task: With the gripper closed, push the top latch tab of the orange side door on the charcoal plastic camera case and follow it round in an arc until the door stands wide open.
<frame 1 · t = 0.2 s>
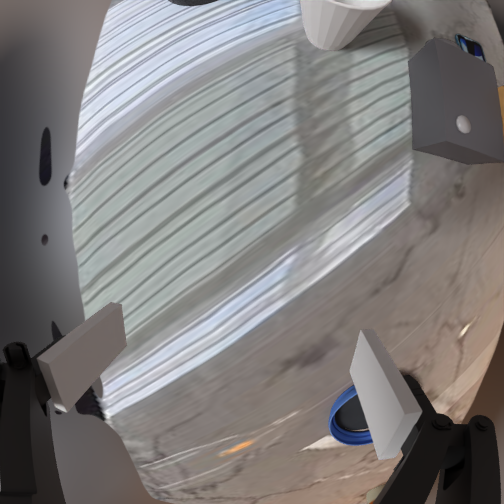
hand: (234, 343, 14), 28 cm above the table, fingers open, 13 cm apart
cup: (327, 35, 34), on the table
reusable coffee cup: (380, 490, 54), on the table
bowl: (369, 406, 47), on the table
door: (494, 123, 27), point 7 cm above the table, hinge at 0.0°
smartphone: (474, 70, 31), on the table
case: (441, 111, 34), on the table
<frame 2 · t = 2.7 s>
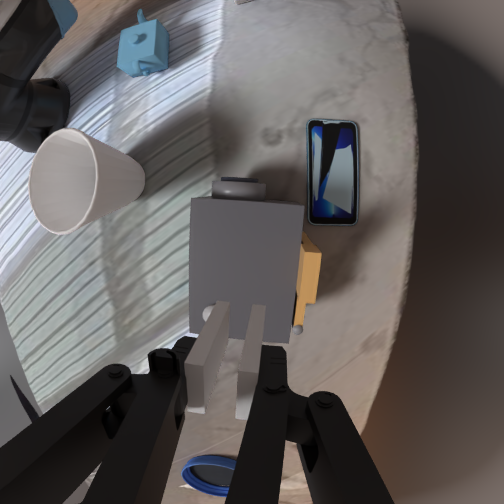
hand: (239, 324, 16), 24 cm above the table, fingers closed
teapot: (153, 53, 35), on the table
cup: (126, 181, 40), on the table
bowl: (219, 471, 54), on the table
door: (300, 283, 34), point 7 cm above the table, hinge at 0.0°
smartphone: (332, 172, 38), on the table
case: (250, 254, 41), on the table
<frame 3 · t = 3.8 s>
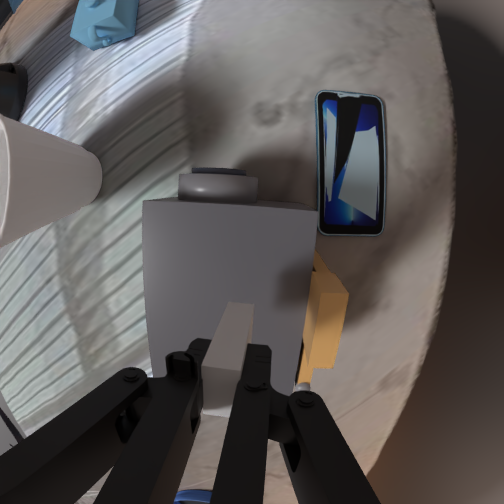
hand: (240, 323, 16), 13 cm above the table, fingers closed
teapot: (120, 21, 24), on the table
cup: (82, 178, 29), on the table
bowl: (211, 503, 43), on the table
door: (308, 323, 23), point 7 cm above the table, hinge at 0.0°
smartphone: (350, 162, 27), on the table
case: (238, 275, 30), on the table
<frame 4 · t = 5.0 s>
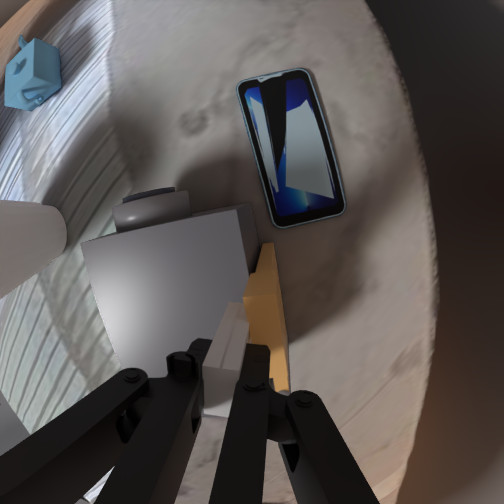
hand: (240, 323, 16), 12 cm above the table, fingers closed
teapot: (49, 76, 25), on the table
cup: (50, 231, 29), on the table
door: (275, 326, 21), point 7 cm above the table, hinge at 0.7°, touching gripper
smartphone: (291, 145, 25), on the table
case: (207, 291, 29), on the table
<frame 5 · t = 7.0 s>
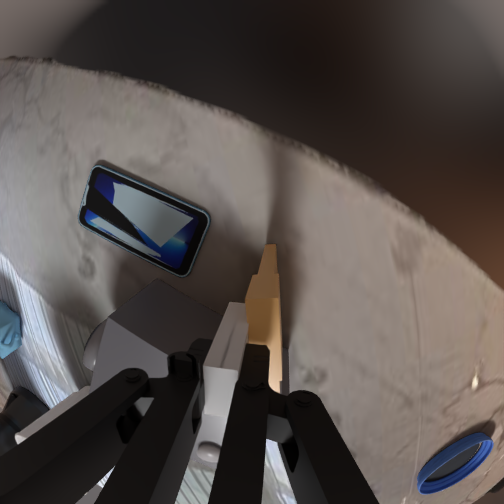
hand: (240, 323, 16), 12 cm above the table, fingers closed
teapot: (9, 316, 34), on the table
cup: (99, 401, 35), on the table
bowl: (452, 458, 33), on the table
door: (271, 329, 21), point 7 cm above the table, hinge at 56.7°, touching gripper
smartphone: (139, 217, 28), on the table
case: (199, 355, 30), on the table
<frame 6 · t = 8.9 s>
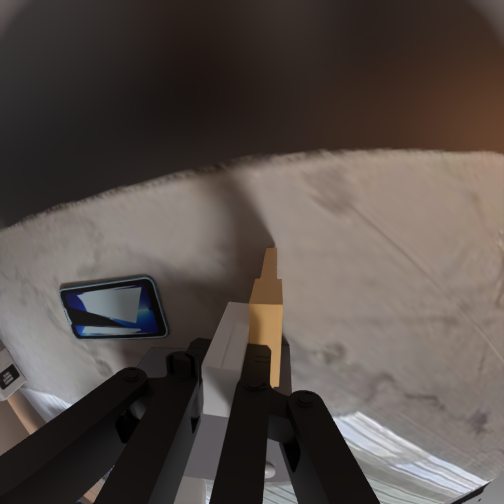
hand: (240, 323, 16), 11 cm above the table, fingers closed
cup: (186, 468, 36), on the table
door: (268, 333, 21), point 7 cm above the table, hinge at 95.9°, touching gripper
container: (11, 367, 37), on the table
smartphone: (111, 309, 31), on the table
case: (224, 389, 31), on the table
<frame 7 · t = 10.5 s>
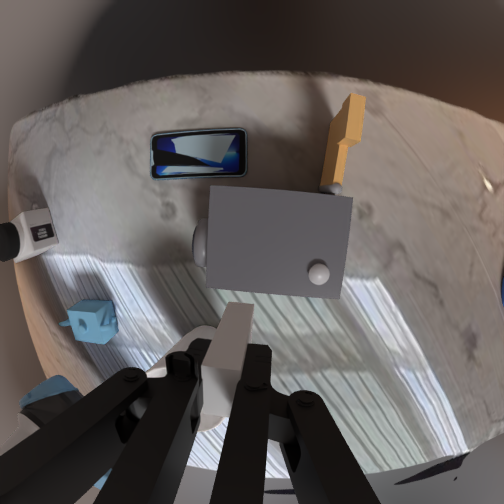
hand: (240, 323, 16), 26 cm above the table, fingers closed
teapot: (99, 312, 48), on the table
cup: (207, 342, 47), on the table
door: (338, 151, 32), point 7 cm above the table, hinge at 95.9°
container: (44, 231, 46), on the table
smartphone: (198, 154, 41), on the table
case: (277, 231, 41), on the table
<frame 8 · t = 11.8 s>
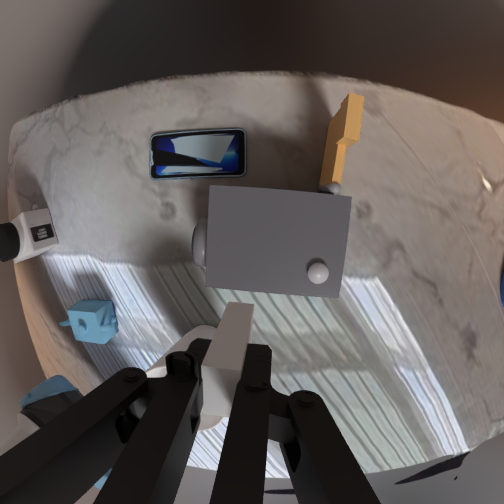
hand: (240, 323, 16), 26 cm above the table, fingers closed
teapot: (99, 312, 48), on the table
cup: (207, 341, 47), on the table
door: (336, 150, 32), point 7 cm above the table, hinge at 95.9°
container: (43, 231, 46), on the table
smartphone: (197, 154, 41), on the table
case: (276, 230, 42), on the table
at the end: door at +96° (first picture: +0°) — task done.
